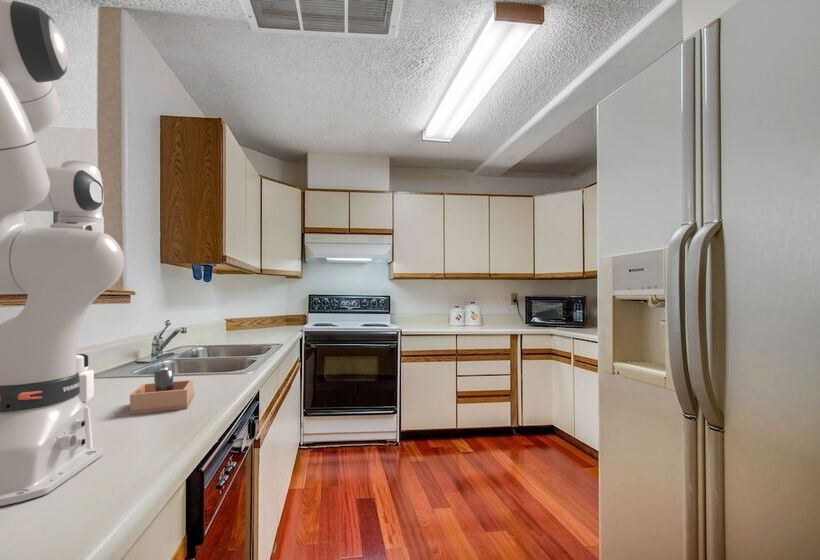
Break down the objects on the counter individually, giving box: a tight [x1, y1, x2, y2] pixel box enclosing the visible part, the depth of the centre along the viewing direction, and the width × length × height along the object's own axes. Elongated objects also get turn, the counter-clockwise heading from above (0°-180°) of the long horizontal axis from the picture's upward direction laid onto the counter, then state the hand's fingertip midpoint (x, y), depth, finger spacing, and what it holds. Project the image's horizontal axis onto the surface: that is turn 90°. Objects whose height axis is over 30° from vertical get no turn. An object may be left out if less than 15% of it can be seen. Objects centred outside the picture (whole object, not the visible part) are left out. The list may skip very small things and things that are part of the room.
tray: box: [129, 379, 195, 415], centre depth 103 cm, size 12×12×4 cm
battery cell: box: [153, 367, 174, 392], centre depth 103 cm, size 4×4×8 cm
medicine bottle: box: [76, 353, 95, 404], centre depth 108 cm, size 7×7×12 cm
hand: (81, 288), depth 101 cm, fingers open, 8 cm apart
